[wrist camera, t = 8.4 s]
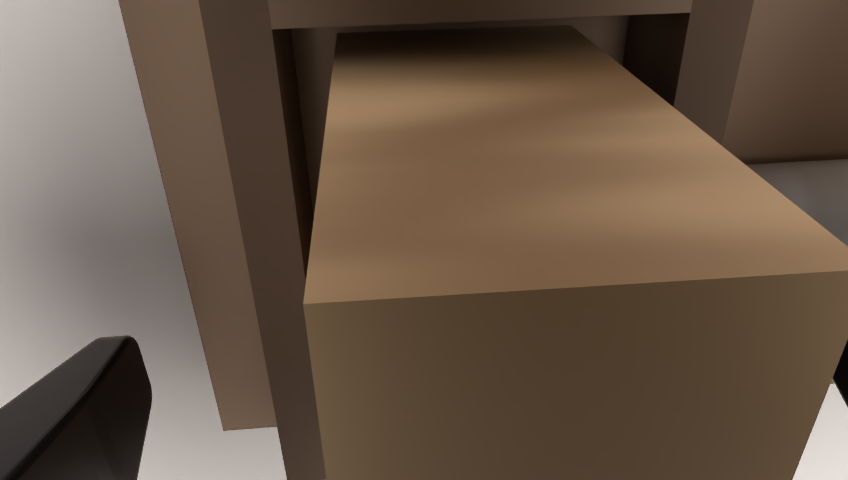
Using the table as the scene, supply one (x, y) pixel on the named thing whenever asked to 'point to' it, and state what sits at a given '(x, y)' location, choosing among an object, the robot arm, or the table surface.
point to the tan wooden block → (553, 274)
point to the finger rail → (305, 126)
